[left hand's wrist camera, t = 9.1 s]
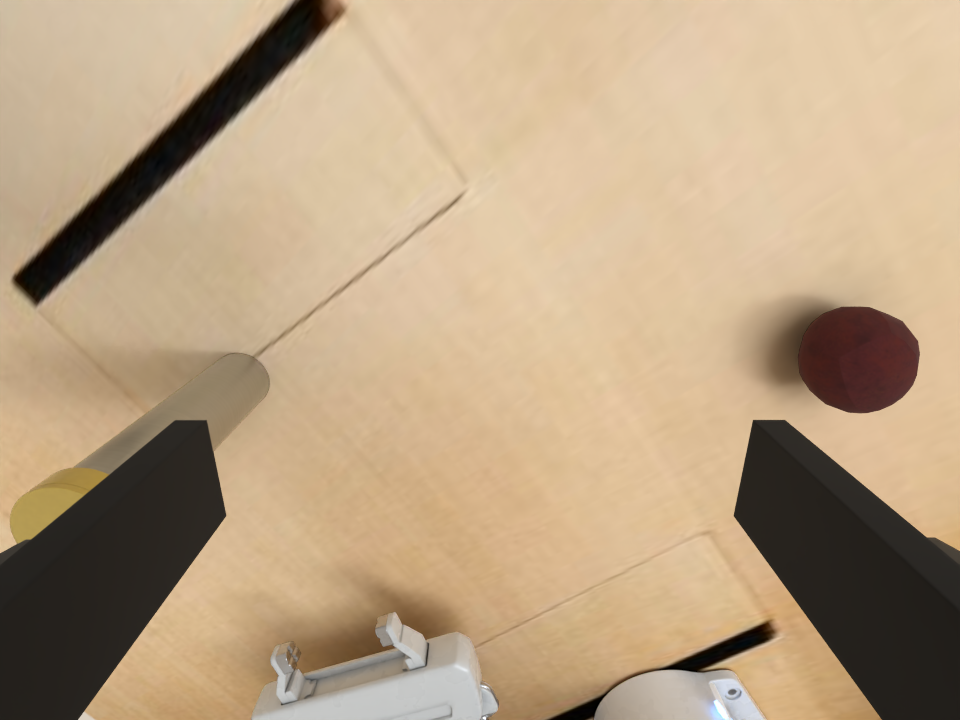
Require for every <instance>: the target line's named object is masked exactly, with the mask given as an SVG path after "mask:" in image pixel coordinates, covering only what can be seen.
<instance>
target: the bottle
mask: <svg viewBox="0 0 960 720" xmlns="http://www.w3.org/2000/svg"><path fill="white" fill-rule="evenodd" d="M268 390H269V376H268V373H267V371H266V370H265V368H264V367H263V365H262V364H261V363H260V362H259V361H257V360H256V359H255V358H253V357H251V356H248V355H245V354H240V353H233V354H228V355H226V356H224V357H222V358H221V359H219V360H218V361H217V362H215V363H214V364H213V365H211V366H210V367H208V368H207V369H206V370H204V371H203V372H202V373H200V374H199V375H198V376H196V377H195V378H194V379H192V380H191V381H189V382H188V383H187V384H185V385H184V386H183V387H181V388H180V389H179V390H177V391H176V392H175V393H173V394H172V395H171V396H169V397H168V398H166V399H165V400H164V401H162V402H161V403H160V404H158V405H157V406H156V407H154V408H153V409H152V410H150V411H149V412H148V413H146V414H145V415H143V416H142V417H141V418H139V419H138V420H137V421H135V422H134V423H133V424H131V425H130V426H129V427H127V428H126V429H125V430H123V431H122V432H120V433H119V434H118V435H116V436H115V437H114V438H112V439H111V440H110V441H108V442H107V443H106V444H104V445H103V446H102V447H100V448H99V449H97V450H96V451H95V452H93V453H92V454H91V455H89V456H88V457H87V458H85V459H84V460H83V461H81V462H80V463H78V464H77V465H76V466H74V467H73V468H90V469H95V470H99V471H102V472H104V473H107V474H111V473H112V472H113V471H114V470H115V469H117V468H118V467H119V466H120V465H121V464H123V463H124V462H125V461H126V460H128V459H129V458H130V457H131V456H132V455H134V454H135V453H136V452H137V451H138V450H140V449H141V448H142V447H143V446H144V445H146V444H147V443H148V442H149V441H150V440H152V439H153V438H154V437H155V436H156V435H158V434H159V433H160V432H161V431H162V430H164V429H165V428H166V427H167V426H169V425H170V424H171V423H172V422H173V421H175V420H207V423H208V428H209V433H210V438H211V443H212V448H213V452H214V450H215V449H216V448H217V447H218V446H219V445H220V444H221V443H222V442H223V441H224V440H225V439H226V438H227V437H228V436H229V434H230V433H231V432H232V431H233V430H234V429H235V428H236V427H237V426H238V425H239V424H240V423H241V422H242V421H243V419H244V418H245V417H246V416H247V415H248V414H249V413H250V412H251V411H252V410H253V409H254V408H255V407H256V406H257V405H258V403H259V402H260V401H261V400H262V399H263V398H264V397H265V396H266V394H267V392H268Z"/></svg>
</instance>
